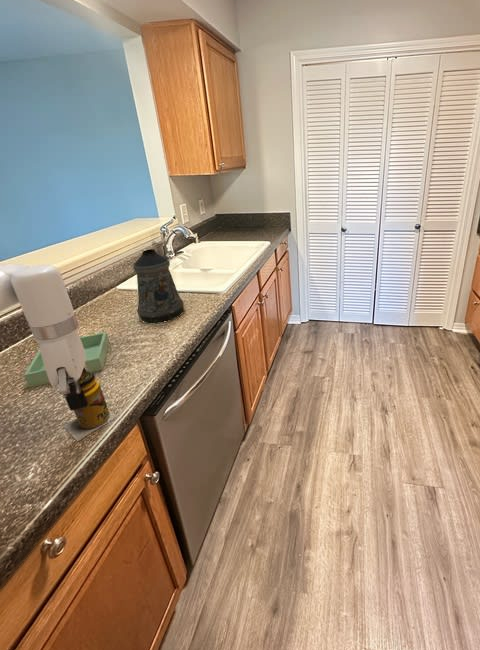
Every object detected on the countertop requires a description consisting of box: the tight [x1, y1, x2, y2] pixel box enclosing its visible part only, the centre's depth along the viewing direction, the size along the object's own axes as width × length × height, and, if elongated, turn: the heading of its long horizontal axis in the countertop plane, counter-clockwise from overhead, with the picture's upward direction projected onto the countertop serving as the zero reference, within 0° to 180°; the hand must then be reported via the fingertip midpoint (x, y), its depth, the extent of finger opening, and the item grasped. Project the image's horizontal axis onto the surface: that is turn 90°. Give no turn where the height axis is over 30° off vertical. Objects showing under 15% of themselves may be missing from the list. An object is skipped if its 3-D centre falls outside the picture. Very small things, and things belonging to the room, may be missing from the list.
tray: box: [23, 331, 110, 388], centre depth 96 cm, size 18×17×4 cm
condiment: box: [63, 371, 118, 442], centre depth 72 cm, size 7×8×12 cm
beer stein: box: [132, 248, 185, 324], centre depth 121 cm, size 16×19×25 cm
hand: (82, 396), depth 72 cm, fingers closed on condiment, 6 cm apart
